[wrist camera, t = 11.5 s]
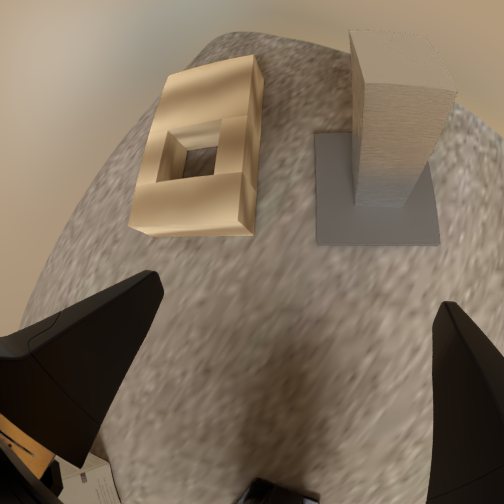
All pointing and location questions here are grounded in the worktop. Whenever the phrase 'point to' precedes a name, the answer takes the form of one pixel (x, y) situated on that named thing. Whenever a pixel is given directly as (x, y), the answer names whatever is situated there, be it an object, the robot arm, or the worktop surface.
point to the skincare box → (87, 482)
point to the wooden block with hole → (196, 137)
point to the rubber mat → (367, 217)
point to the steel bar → (394, 112)
